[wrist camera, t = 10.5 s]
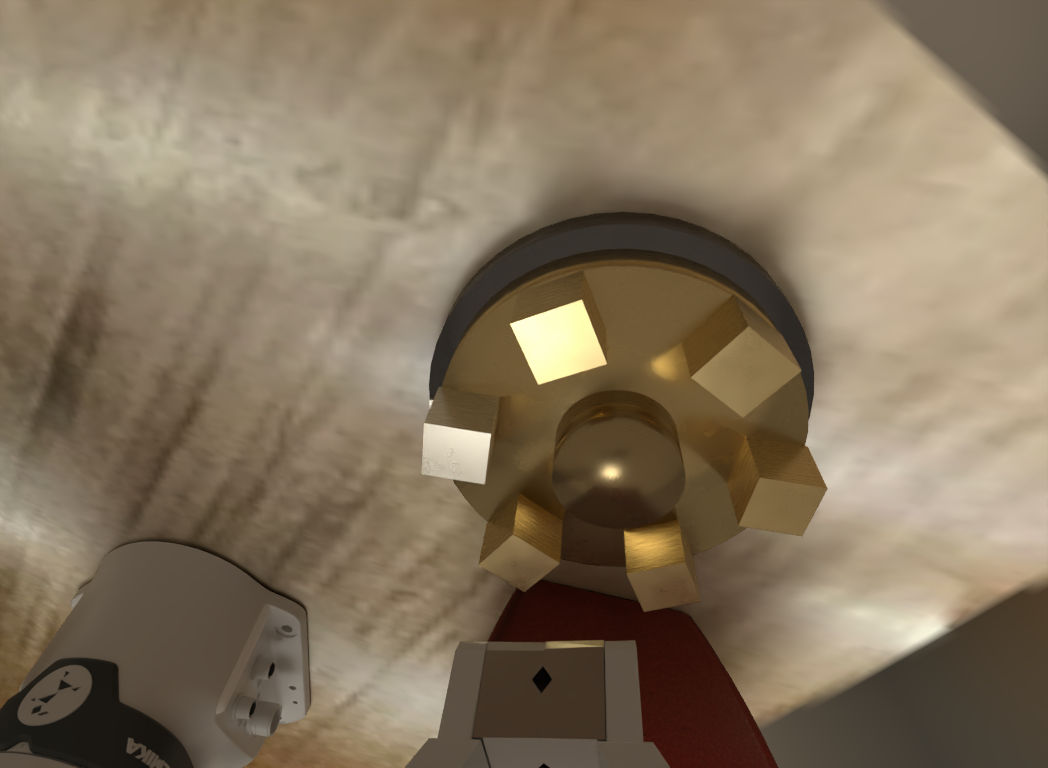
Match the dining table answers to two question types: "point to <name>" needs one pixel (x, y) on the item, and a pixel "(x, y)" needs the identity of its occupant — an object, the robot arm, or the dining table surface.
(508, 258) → the nut base
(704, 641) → the plant pot
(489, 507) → the ring nut
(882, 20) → the dining table surface
